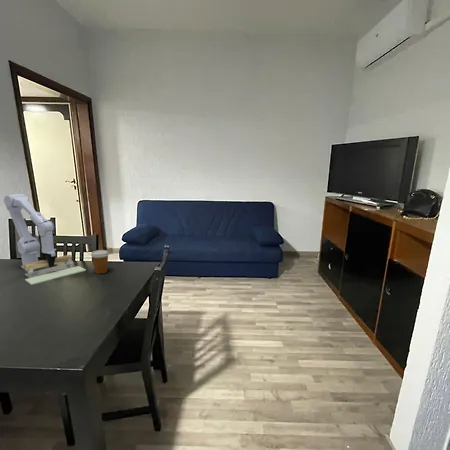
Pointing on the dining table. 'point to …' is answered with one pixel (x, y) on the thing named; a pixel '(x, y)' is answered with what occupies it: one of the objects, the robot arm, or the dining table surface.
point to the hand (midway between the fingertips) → (49, 265)
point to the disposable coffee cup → (100, 260)
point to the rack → (48, 270)
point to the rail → (46, 262)
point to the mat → (54, 275)
